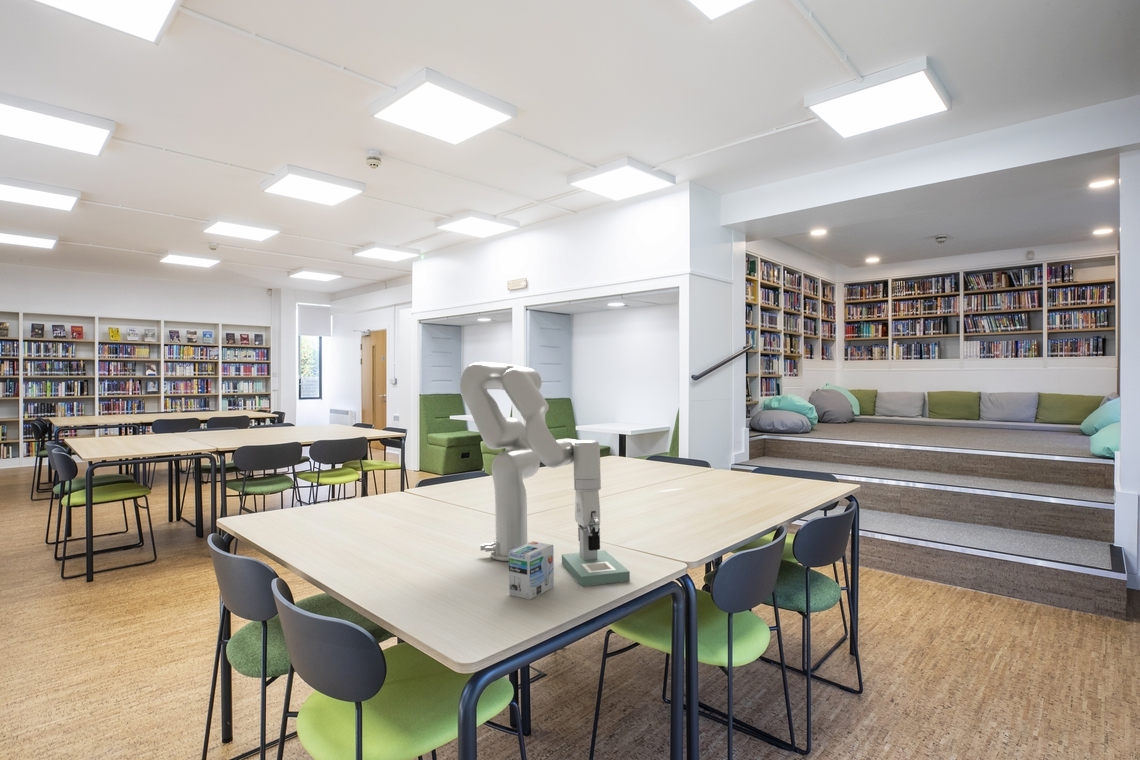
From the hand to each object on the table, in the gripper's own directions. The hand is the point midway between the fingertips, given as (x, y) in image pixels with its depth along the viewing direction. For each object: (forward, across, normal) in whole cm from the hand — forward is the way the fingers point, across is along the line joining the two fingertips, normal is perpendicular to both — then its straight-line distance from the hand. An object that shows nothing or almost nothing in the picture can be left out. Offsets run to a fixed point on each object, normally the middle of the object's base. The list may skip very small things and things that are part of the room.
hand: (589, 545), depth 157 cm
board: (+6, +5, 0) cm, 8 cm away
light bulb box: (+6, +14, -19) cm, 24 cm away
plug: (+3, 0, 0) cm, 3 cm away
